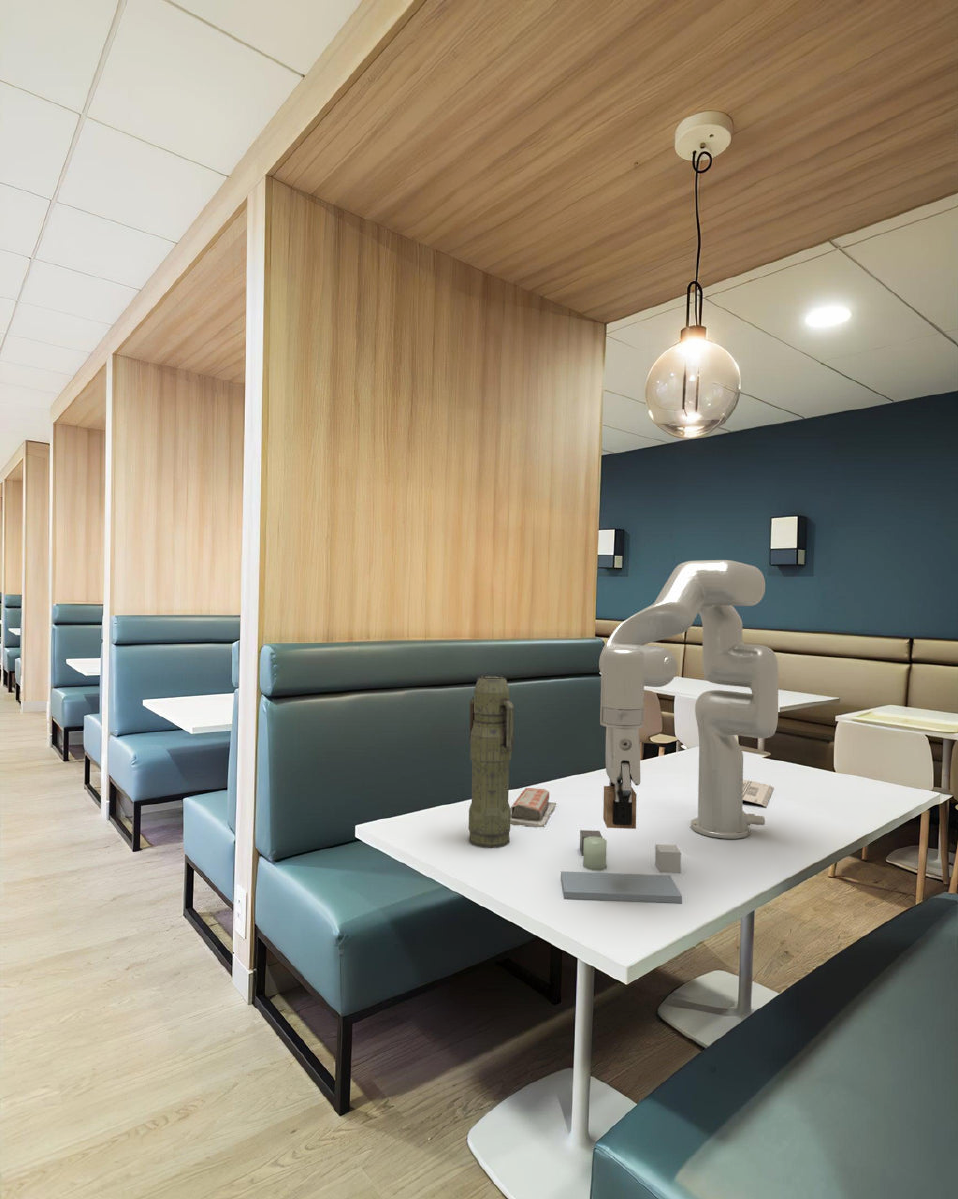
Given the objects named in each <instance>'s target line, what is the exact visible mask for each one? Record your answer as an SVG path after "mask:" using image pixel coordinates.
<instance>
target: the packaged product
mask: <svg viewBox="0 0 958 1199" xmlns="http://www.w3.org/2000/svg"><path fill="white" fill-rule="evenodd" d="M549 800H550V791H549V790H547V789H545V788H535V787H534V788H533V787H525V788H524V790H523V791H522V792H521V793H520V795H519V796H518V798H517V799H516V800H515V802H514V803H513V804H512V805H511V806H510V809H511V818H510V824H512V826H519V825H525V826H524V827H529V826H534V827H533V828H537V827H544V828H545V826H546V825H547V822H548V820H549V818H550V817H551V816H550V815H552V814H553V811H554V809H555V807H556V806H557V803H556V802H553V801H552V802H550V801H549ZM555 805H556V806H555ZM544 825H545V826H544Z"/></svg>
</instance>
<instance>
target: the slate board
mask: <svg viewBox="0 0 958 1199" xmlns="http://www.w3.org/2000/svg"><path fill="white" fill-rule="evenodd" d="M560 882H561V887H562V892H563V897H564V900H585V901H586V900H587V901H609V902H610V901H612V902H613V901H616V902H642V903H663V904H664V903H665V904H683V895H682V894H681V892H680V891H679V890H680V889H679V888H678V887H677V884H676V883H675V882H674V879H673V878H672V876H671V875H669V874H667V875H666V874H642V873H641V874H640V873H639V874H637V873H620V872H619V873H616V872H614V873H613V872H611V873H610V872H591V871H590V872H589V871H587V872H586V871H585V872H584V871H566V870H564V871H560Z"/></svg>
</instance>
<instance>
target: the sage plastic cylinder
mask: <svg viewBox="0 0 958 1199" xmlns="http://www.w3.org/2000/svg"><path fill="white" fill-rule="evenodd" d="M607 841H608V840H607V839H605V838H604V837H602V838H601V837H594V836H592V837H586V838H584V851H583V856H582V857H583V858H582V859H583V861H582V864H583V865H582V866H583V867H584V869H587V870H590V871H603V870H605V869H607V850H608V849H607Z"/></svg>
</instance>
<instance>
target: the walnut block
mask: <svg viewBox="0 0 958 1199" xmlns="http://www.w3.org/2000/svg"><path fill="white" fill-rule="evenodd" d="M620 789H622V787H619V790H620ZM631 791H632V824H631V825H614V824H613V801H615V786H609V785H604V786H603V810H602V811H603V815H602V817H603V818H602V820H603V821H604V825H605V826H606V829H627V830H628V829H631V830H633V829H634V830H636V829H637V793H636V791H635V790H634V788H633V787H632V786H631Z"/></svg>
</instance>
